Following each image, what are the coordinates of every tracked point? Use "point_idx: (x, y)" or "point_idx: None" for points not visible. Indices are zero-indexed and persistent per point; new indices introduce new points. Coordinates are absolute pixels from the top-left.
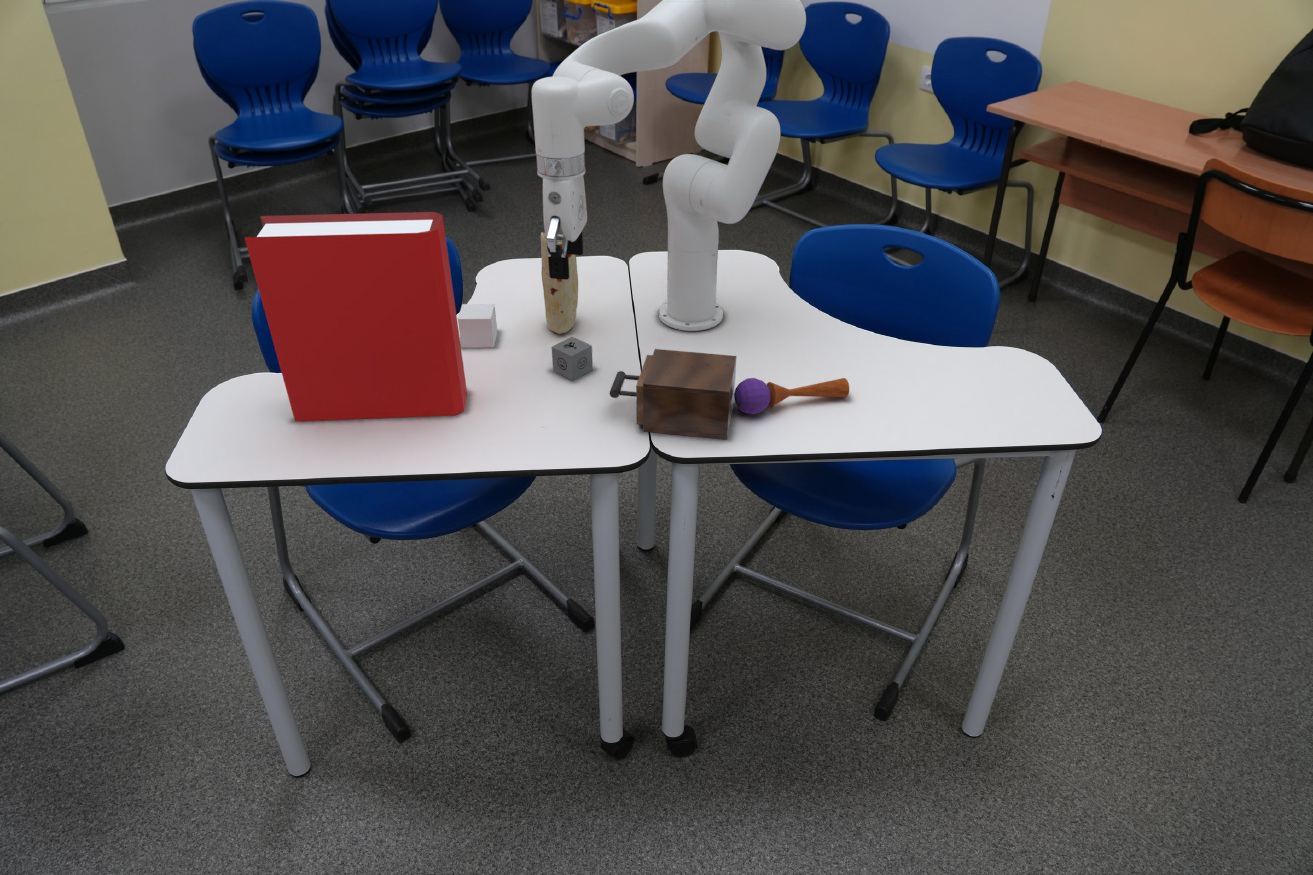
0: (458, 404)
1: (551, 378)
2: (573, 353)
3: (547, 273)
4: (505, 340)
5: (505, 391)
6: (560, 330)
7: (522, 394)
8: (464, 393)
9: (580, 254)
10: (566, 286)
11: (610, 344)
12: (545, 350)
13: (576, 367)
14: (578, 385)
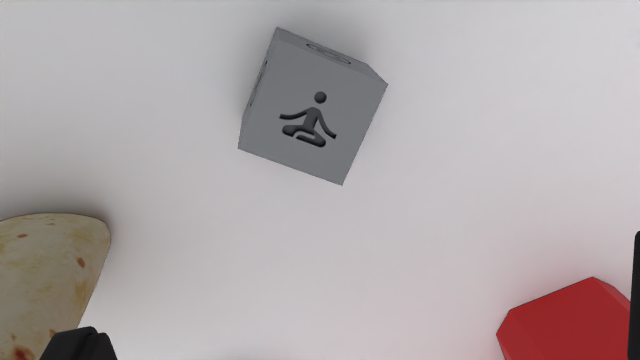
0: (620, 297)
1: (371, 137)
2: (365, 85)
3: None
4: (208, 356)
5: (476, 228)
6: (108, 233)
7: (480, 178)
8: (564, 309)
9: (104, 339)
10: (8, 313)
11: (72, 37)
12: (214, 229)
13: (356, 64)
14: (386, 35)
